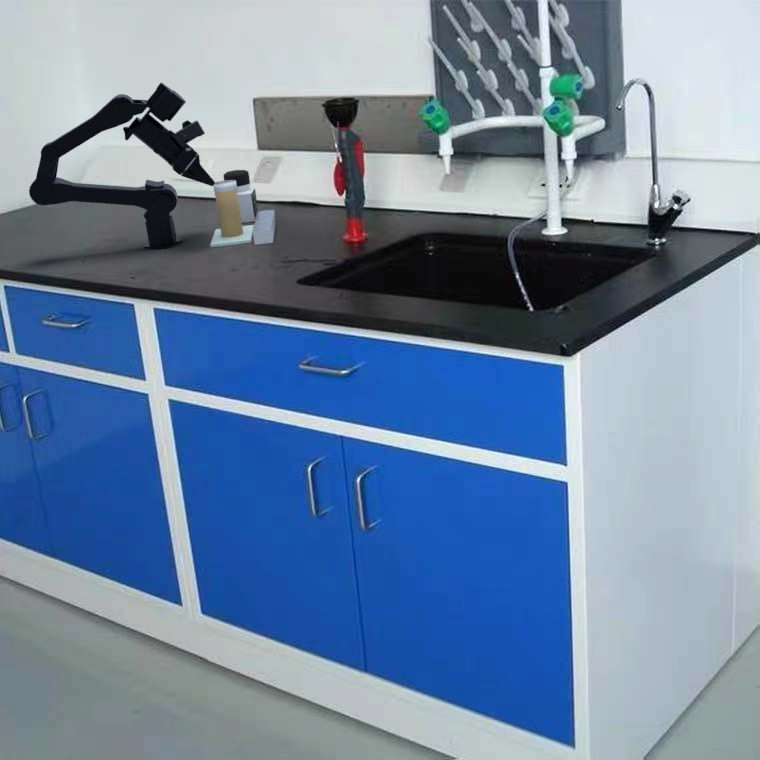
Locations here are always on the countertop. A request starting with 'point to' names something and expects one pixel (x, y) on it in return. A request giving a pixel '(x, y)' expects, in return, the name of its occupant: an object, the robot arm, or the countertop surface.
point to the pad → (240, 239)
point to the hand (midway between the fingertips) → (212, 182)
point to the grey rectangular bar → (264, 227)
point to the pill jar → (228, 208)
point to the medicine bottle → (244, 194)
